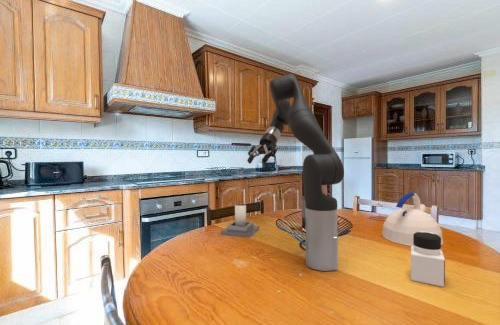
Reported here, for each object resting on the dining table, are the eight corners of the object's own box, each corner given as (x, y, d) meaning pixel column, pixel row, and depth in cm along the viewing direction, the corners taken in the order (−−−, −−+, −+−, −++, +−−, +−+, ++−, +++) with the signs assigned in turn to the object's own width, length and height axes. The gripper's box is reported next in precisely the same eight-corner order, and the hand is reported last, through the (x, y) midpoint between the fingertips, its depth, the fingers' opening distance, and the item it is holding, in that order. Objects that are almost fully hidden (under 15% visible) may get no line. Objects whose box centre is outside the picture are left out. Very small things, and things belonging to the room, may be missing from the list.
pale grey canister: (247, 227, 114) (247, 203, 114) (243, 230, 110) (243, 205, 110) (237, 226, 116) (237, 203, 116) (233, 229, 112) (233, 205, 111)
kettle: (452, 240, 99) (453, 193, 98) (429, 252, 87) (429, 198, 86) (397, 228, 115) (397, 187, 115) (371, 237, 104) (371, 192, 103)
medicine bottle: (444, 287, 64) (445, 239, 63) (410, 280, 68) (410, 235, 67) (442, 276, 70) (442, 232, 69) (410, 270, 74) (411, 228, 73)
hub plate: (259, 229, 116) (259, 221, 116) (250, 237, 105) (249, 228, 105) (232, 226, 121) (232, 219, 121) (221, 234, 109) (221, 226, 109)
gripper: (255, 133, 128) (240, 156, 119) (279, 130, 119) (264, 155, 110) (262, 144, 132) (248, 167, 123) (286, 142, 123) (272, 167, 114)
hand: (256, 162), depth 117 cm, fingers open, 8 cm apart
